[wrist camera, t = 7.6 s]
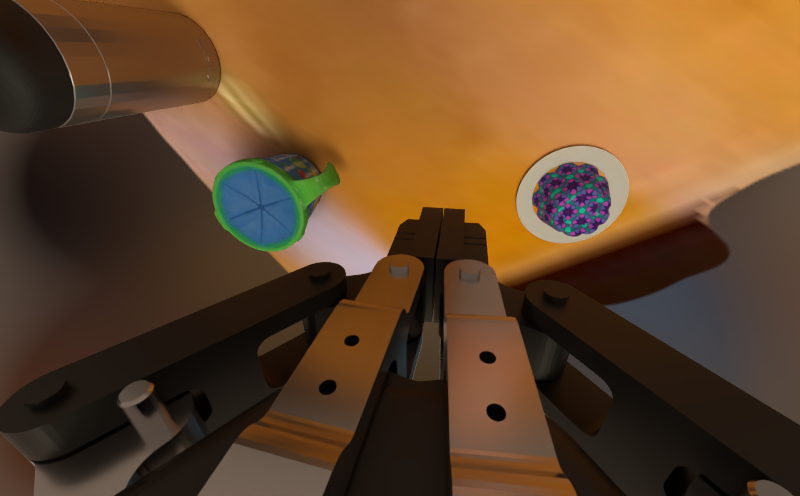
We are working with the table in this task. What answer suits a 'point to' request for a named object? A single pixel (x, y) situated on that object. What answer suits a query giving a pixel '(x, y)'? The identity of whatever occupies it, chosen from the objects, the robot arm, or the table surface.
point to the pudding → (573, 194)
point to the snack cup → (270, 198)
